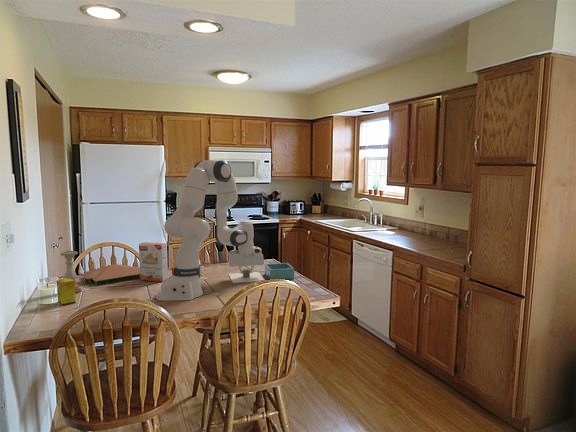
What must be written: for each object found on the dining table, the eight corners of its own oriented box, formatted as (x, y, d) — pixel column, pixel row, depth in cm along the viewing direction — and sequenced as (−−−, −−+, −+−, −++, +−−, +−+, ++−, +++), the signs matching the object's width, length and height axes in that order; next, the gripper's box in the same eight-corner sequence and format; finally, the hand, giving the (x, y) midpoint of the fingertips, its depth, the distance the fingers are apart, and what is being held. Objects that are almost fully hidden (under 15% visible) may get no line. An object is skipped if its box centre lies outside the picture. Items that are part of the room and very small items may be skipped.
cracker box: (139, 280, 228) (138, 243, 226) (145, 277, 234) (144, 241, 232) (162, 282, 225) (161, 244, 223) (167, 279, 231) (166, 242, 229)
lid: (232, 283, 225) (232, 275, 224) (228, 275, 242) (228, 267, 242) (264, 281, 230) (264, 273, 229) (258, 273, 247) (258, 265, 246)
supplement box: (57, 302, 191) (56, 279, 190) (71, 300, 195) (70, 277, 194) (61, 306, 187) (60, 282, 185) (75, 303, 191) (74, 280, 189)
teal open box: (270, 280, 230) (270, 269, 230) (264, 274, 244) (264, 264, 243) (294, 278, 234) (294, 268, 233) (287, 272, 248) (287, 262, 247)
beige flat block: (78, 278, 233) (77, 264, 232) (137, 269, 254) (136, 256, 253) (89, 288, 215) (89, 273, 214) (151, 277, 236) (150, 263, 235)
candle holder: (59, 291, 208) (57, 252, 206) (78, 288, 214) (76, 249, 211) (63, 295, 201) (61, 255, 199) (83, 292, 207) (80, 252, 205)
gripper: (228, 251, 228) (228, 275, 230) (264, 249, 234) (264, 273, 235) (227, 249, 234) (227, 273, 236) (262, 247, 240) (262, 270, 241)
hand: (246, 273), depth 236 cm, fingers closed on lid, 3 cm apart
